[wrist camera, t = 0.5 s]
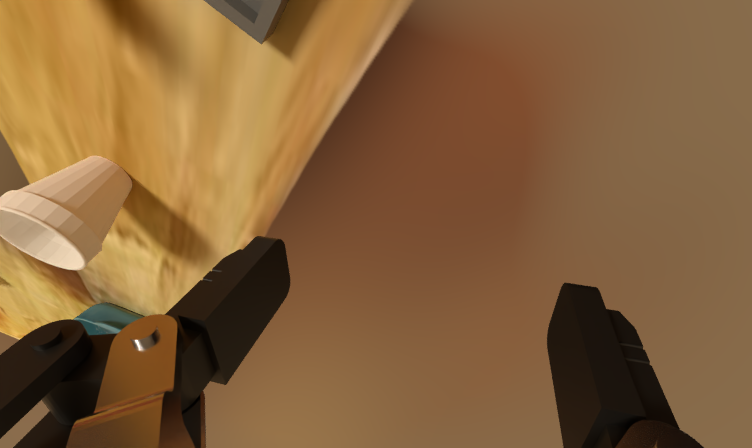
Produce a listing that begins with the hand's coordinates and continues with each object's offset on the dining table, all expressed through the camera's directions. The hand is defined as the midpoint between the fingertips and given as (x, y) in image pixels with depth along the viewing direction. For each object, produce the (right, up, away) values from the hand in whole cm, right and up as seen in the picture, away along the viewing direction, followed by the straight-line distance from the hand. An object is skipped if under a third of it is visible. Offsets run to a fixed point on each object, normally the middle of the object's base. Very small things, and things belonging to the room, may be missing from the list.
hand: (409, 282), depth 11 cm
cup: (-41, +9, +46) cm, 62 cm away
